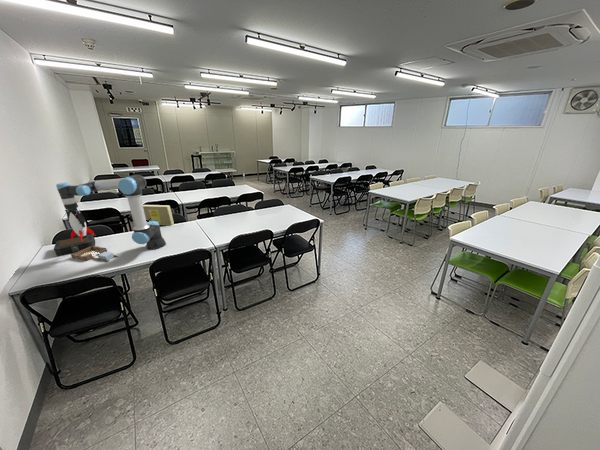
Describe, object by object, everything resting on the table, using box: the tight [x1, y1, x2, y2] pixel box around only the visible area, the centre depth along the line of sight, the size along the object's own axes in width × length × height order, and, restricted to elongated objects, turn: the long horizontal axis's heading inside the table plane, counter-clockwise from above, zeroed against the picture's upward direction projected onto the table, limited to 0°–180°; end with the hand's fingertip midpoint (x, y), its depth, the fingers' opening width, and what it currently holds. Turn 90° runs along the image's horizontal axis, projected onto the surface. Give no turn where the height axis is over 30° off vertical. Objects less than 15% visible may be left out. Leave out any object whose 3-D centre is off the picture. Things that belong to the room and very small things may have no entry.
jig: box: [70, 245, 119, 263], centre depth 194 cm, size 34×16×4 cm, turn 73°
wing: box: [97, 251, 115, 261], centre depth 191 cm, size 9×6×4 cm, turn 73°
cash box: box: [53, 233, 96, 257], centre depth 206 cm, size 25×20×8 cm
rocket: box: [68, 212, 97, 241], centre depth 186 cm, size 11×11×25 cm
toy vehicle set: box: [143, 204, 175, 226], centre depth 257 cm, size 35×5×22 cm, turn 85°
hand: (80, 230), depth 188 cm, fingers closed on rocket, 9 cm apart
